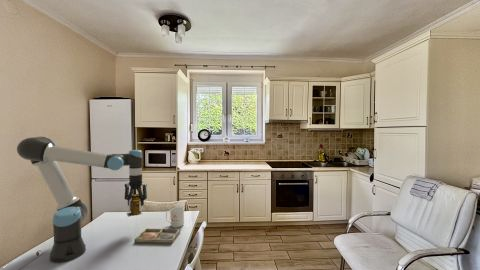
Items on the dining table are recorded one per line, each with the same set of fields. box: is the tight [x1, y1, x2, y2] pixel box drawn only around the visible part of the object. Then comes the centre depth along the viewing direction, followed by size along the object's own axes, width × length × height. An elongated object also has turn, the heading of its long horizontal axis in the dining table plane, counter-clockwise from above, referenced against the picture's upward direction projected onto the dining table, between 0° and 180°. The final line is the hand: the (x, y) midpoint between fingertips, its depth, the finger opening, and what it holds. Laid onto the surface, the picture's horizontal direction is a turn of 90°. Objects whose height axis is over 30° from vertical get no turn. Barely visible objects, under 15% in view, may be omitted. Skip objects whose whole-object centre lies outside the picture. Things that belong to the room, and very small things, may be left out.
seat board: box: [134, 228, 181, 245], centre depth 138 cm, size 14×22×2 cm, turn 87°
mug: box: [165, 206, 185, 229], centre depth 156 cm, size 12×9×11 cm
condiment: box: [126, 193, 143, 217], centre depth 145 cm, size 7×8×12 cm
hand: (135, 210), depth 145 cm, fingers closed on condiment, 6 cm apart
